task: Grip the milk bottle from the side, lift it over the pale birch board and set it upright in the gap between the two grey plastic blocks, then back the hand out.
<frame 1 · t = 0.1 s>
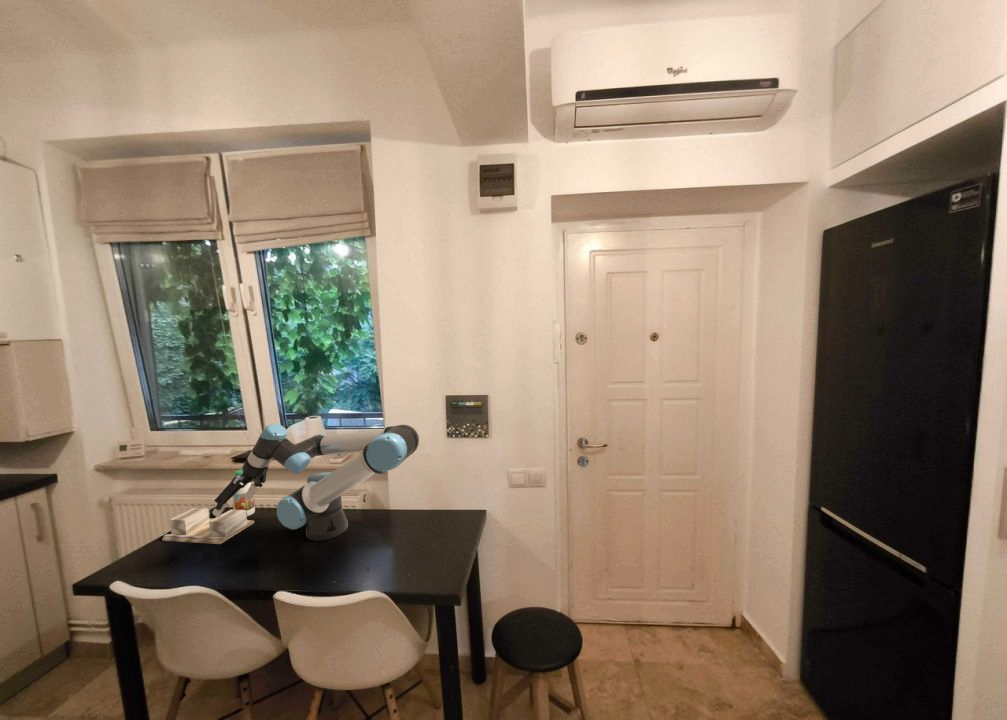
hand: (232, 506, 140), 15 cm above the table, tool tilted 35°, fingers open, 13 cm apart
rail board: (210, 531, 152), on the table
milk bottle: (244, 514, 166), on the table
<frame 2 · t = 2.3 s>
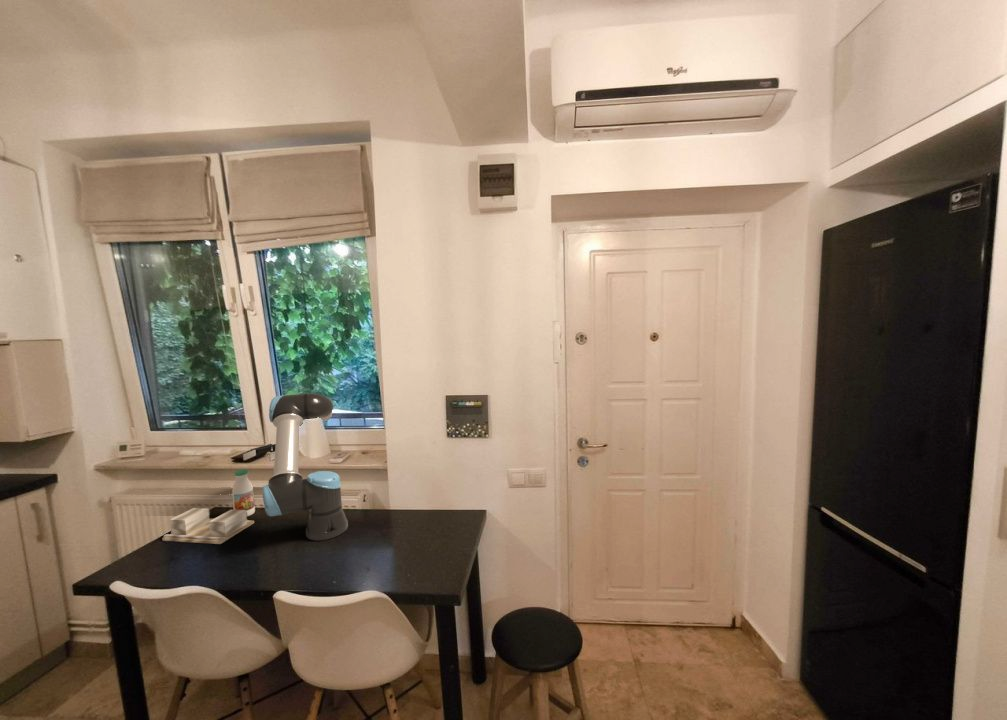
hand: (256, 457, 174), 23 cm above the table, tool horizontal, fingers open, 13 cm apart
nothing on the table moved.
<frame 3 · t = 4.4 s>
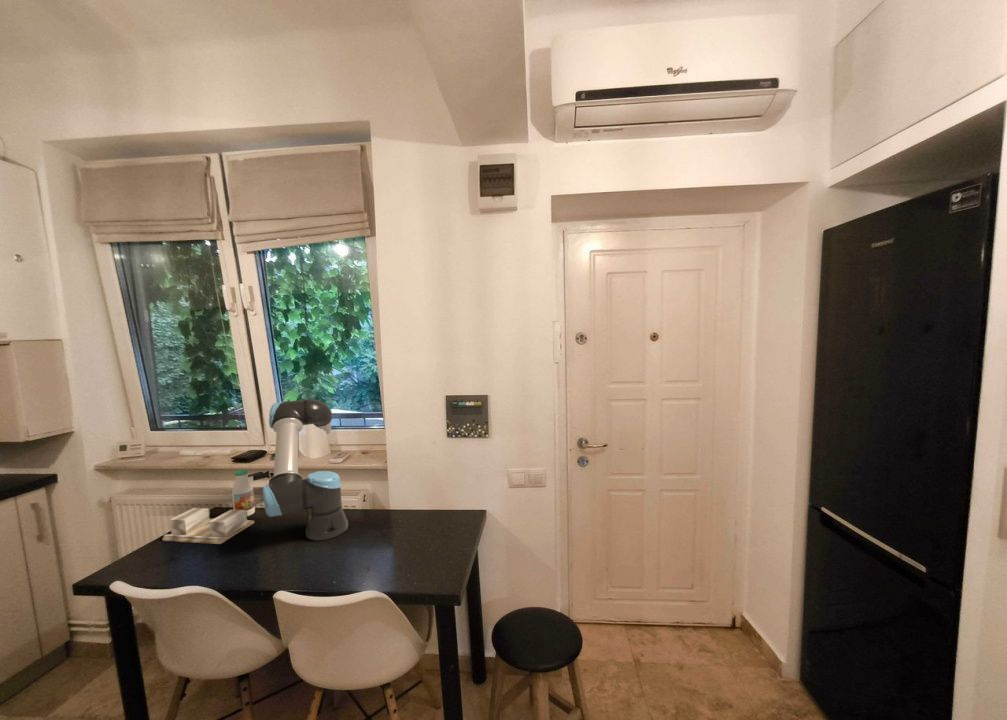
hand: (253, 484, 172), 11 cm above the table, tool horizontal, fingers open, 13 cm apart
nothing on the table moved.
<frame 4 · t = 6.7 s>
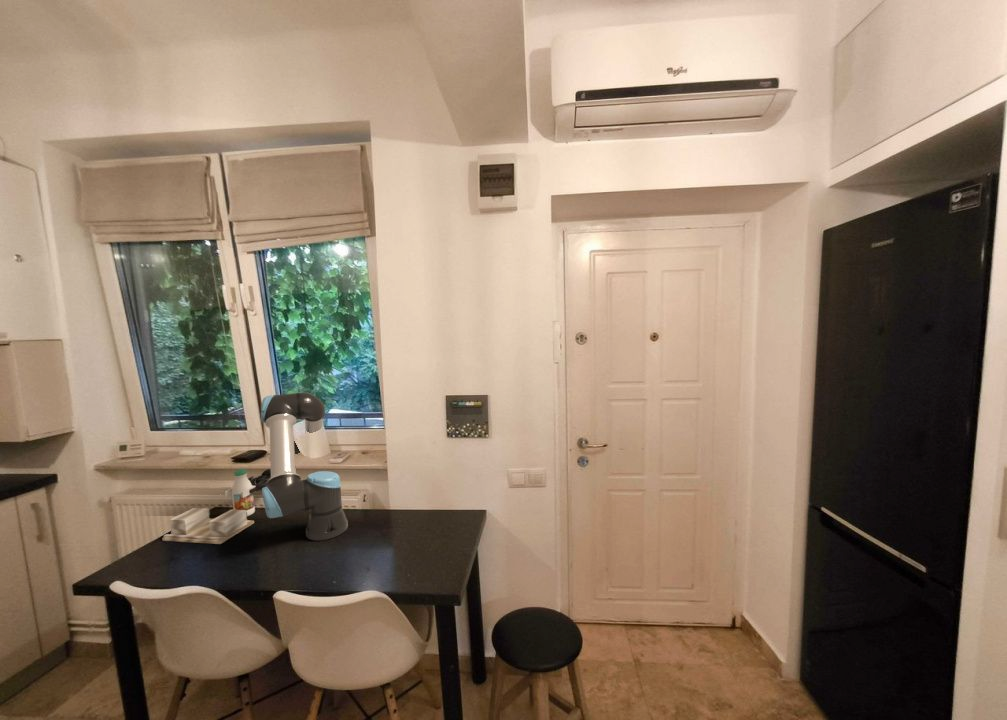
hand: (233, 494, 161), 11 cm above the table, tool horizontal, fingers closed on milk bottle, 7 cm apart
milk bottle: (244, 514, 166), on the table, touching gripper
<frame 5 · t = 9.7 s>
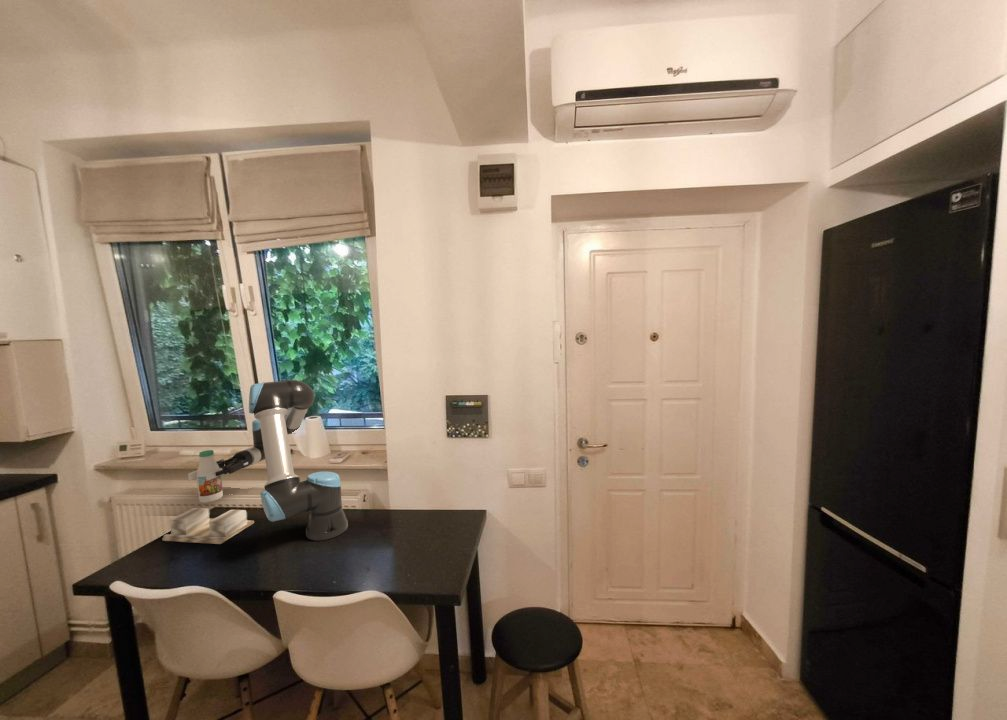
hand: (198, 477, 148), 24 cm above the table, tool horizontal, fingers closed on milk bottle, 7 cm apart
milk bottle: (211, 499, 153), point 13 cm above the table, touching gripper
when the fingers open (13 cm above the table, at t = 12.9 s): milk bottle drops 1 cm, resting on rail board.
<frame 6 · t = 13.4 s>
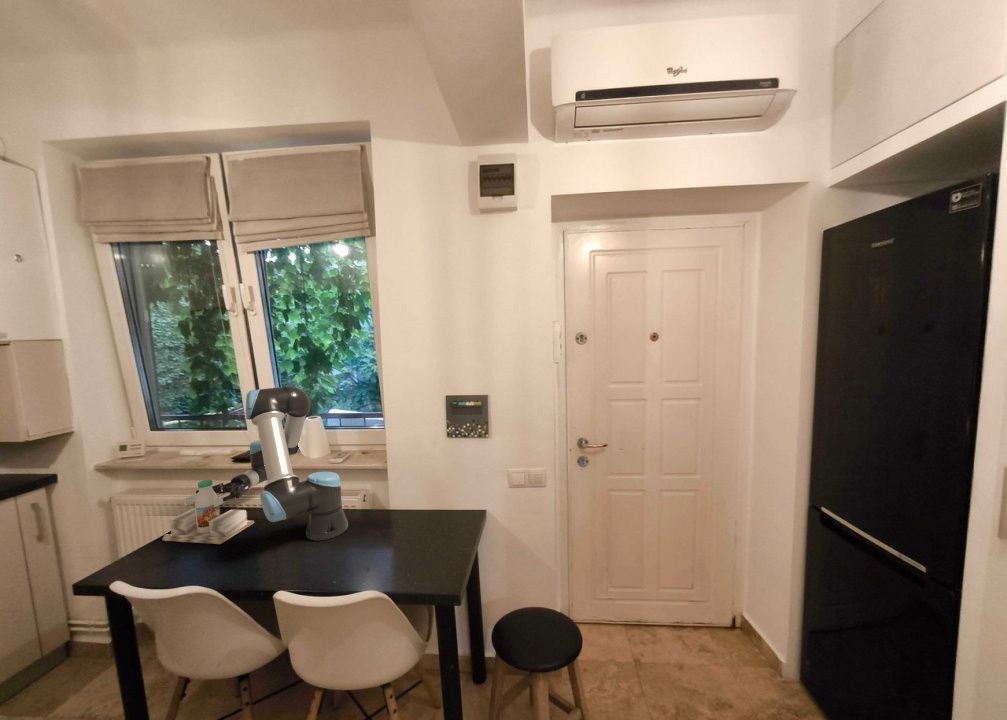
hand: (199, 502, 148), 14 cm above the table, tool horizontal, fingers open, 13 cm apart
milk bottle: (209, 529, 152), point 1 cm above the table, touching rail board
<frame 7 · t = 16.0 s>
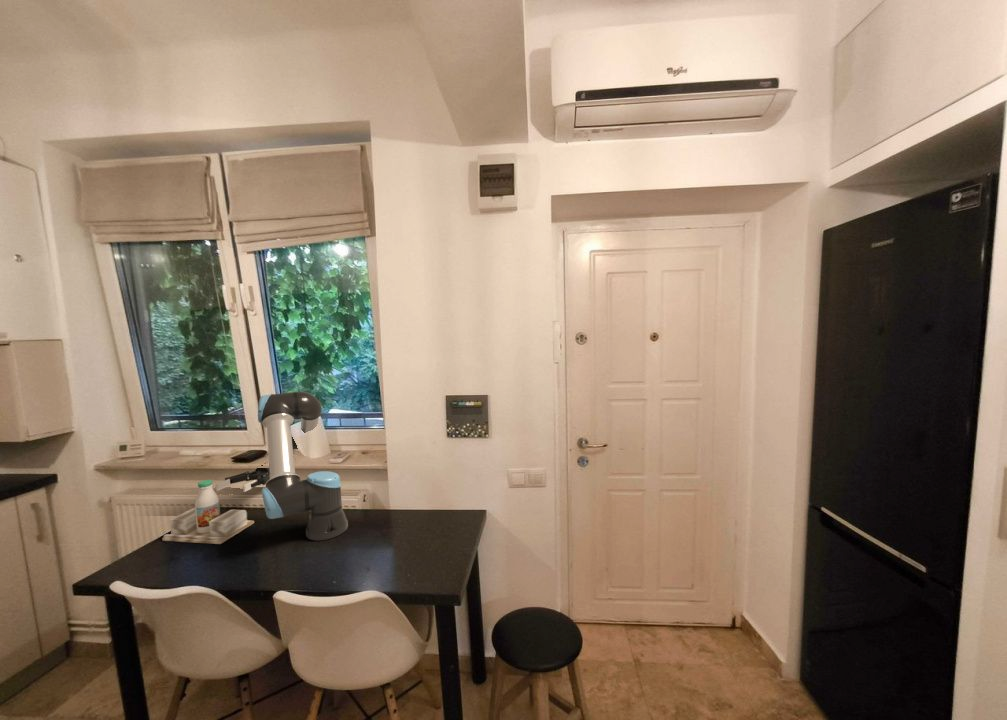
hand: (229, 488, 162), 14 cm above the table, tool horizontal, fingers open, 13 cm apart
nothing on the table moved.
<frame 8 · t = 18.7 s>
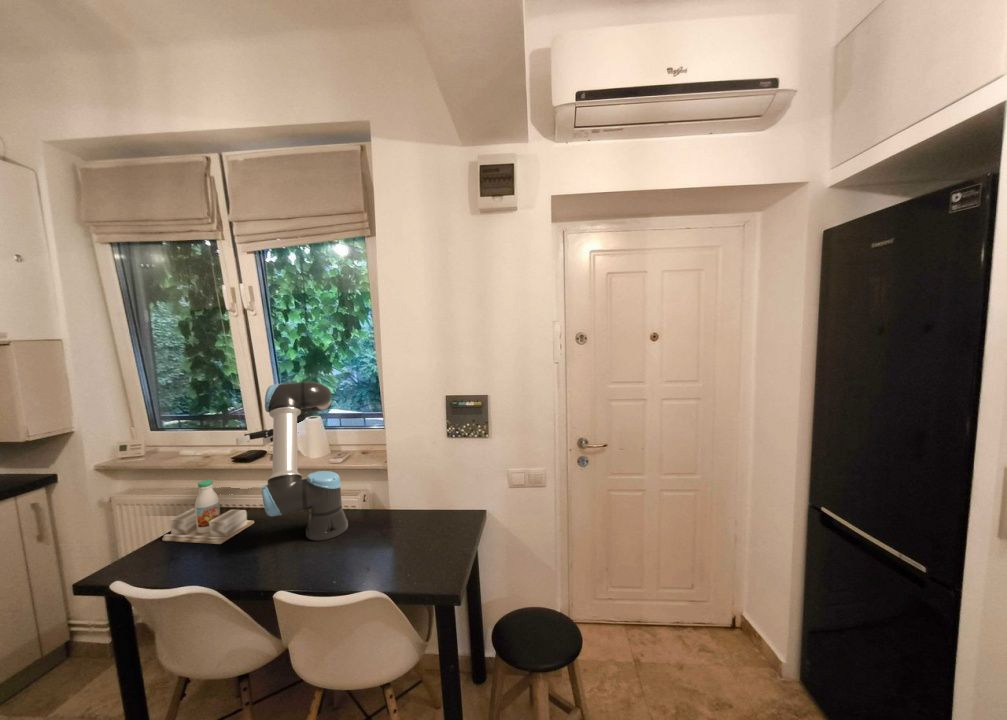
hand: (250, 441, 167), 32 cm above the table, tool horizontal, fingers open, 13 cm apart
nothing on the table moved.
at the end: milk bottle 0.3 cm off-centre on the rail board, point 0.8 cm above the rail board's base; milk bottle tilted 0°; the gripper is holding nothing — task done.
